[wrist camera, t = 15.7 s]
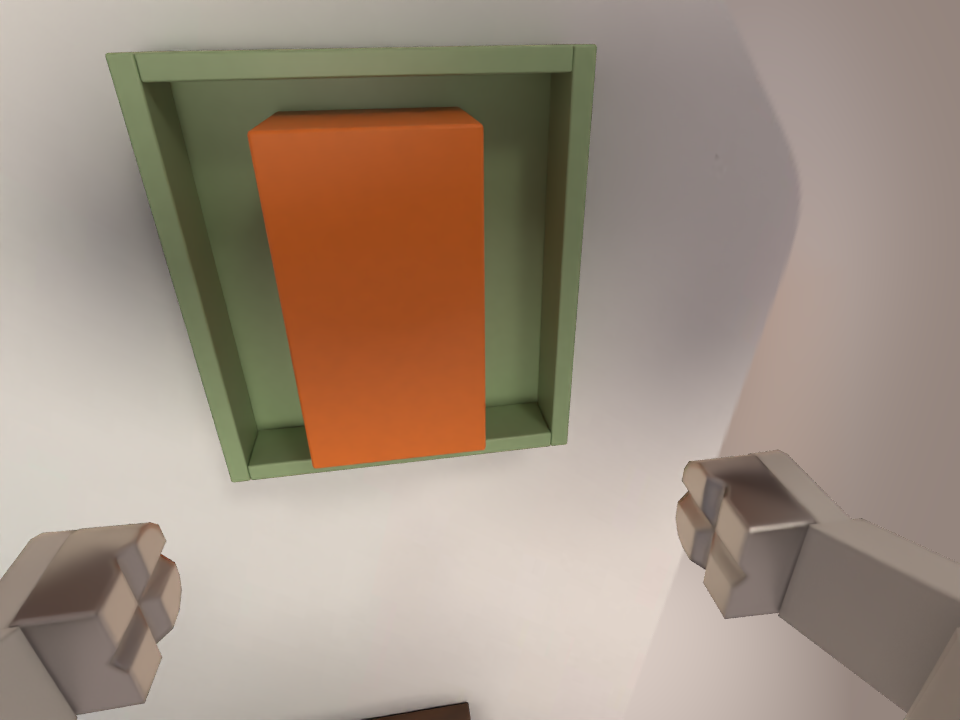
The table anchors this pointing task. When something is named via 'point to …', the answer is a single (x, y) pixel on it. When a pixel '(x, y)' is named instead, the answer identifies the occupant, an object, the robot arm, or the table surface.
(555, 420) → the tray
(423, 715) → the shelf
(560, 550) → the table surface
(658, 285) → the table surface
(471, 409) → the block
